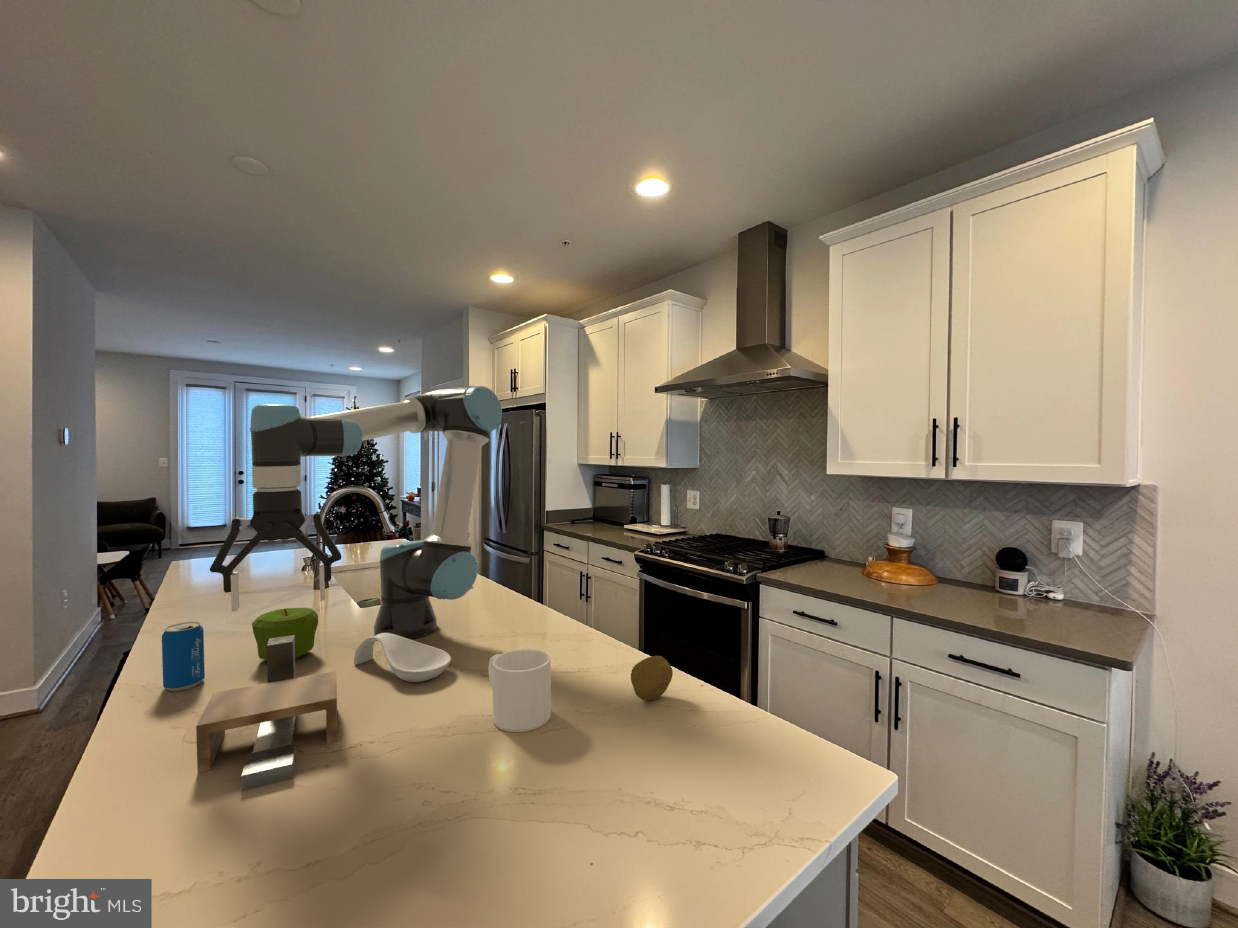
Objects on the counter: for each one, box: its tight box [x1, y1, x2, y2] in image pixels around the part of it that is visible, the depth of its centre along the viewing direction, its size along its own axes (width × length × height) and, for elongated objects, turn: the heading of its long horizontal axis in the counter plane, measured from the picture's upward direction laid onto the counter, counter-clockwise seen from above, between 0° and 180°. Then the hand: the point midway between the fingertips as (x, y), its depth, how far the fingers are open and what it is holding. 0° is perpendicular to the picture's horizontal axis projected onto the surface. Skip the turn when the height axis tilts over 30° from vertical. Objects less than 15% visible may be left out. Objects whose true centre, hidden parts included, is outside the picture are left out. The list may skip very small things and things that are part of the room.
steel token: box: [240, 743, 297, 792], centre depth 77 cm, size 6×6×2 cm
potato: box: [630, 655, 674, 702], centre depth 100 cm, size 7×8×8 cm
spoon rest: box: [353, 633, 452, 683], centre depth 113 cm, size 24×12×7 cm, turn 65°
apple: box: [251, 607, 319, 661], centre depth 121 cm, size 12×12×11 cm
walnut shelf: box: [195, 670, 338, 774], centre depth 87 cm, size 18×12×7 cm, turn 118°
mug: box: [487, 648, 552, 733], centre depth 94 cm, size 13×10×10 cm
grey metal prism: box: [252, 635, 297, 753], centre depth 91 cm, size 5×20×12 cm, turn 28°
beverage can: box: [161, 621, 206, 692], centre depth 106 cm, size 6×6×12 cm
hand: (280, 604), depth 98 cm, fingers open, 13 cm apart
